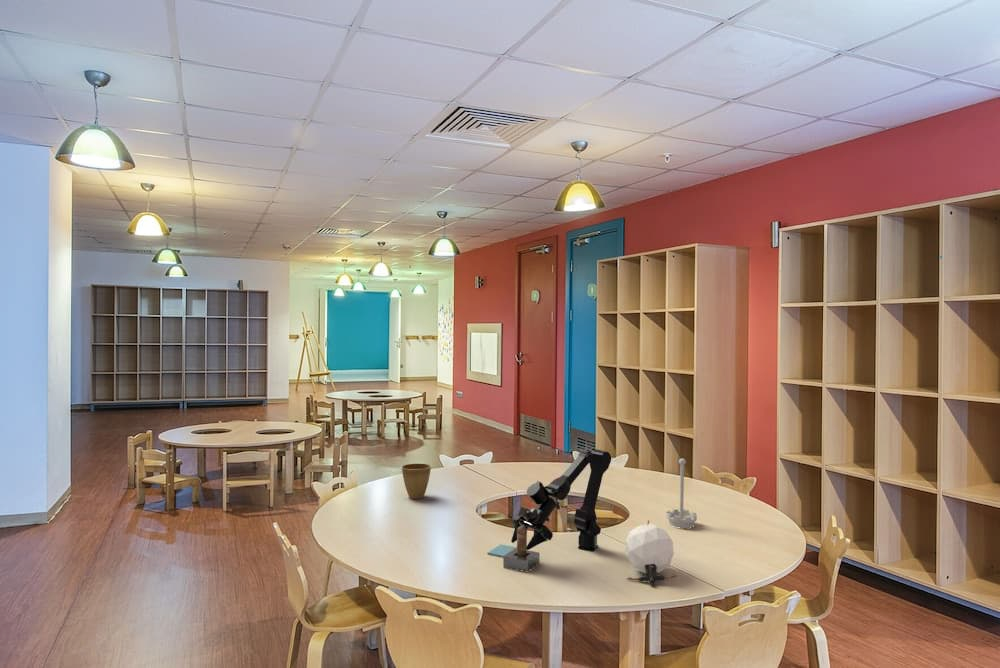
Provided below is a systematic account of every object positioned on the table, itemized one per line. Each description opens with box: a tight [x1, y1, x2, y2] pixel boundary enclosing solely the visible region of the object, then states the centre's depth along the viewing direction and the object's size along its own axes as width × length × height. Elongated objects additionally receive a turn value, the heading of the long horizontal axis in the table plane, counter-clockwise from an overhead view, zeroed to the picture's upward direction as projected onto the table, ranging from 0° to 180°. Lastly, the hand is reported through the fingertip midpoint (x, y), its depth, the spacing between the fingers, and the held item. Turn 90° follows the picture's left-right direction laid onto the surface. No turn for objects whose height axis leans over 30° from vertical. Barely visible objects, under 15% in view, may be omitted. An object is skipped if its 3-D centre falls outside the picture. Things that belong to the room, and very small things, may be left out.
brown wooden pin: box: [516, 526, 528, 558], centre depth 239 cm, size 4×4×14 cm
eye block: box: [502, 548, 541, 572], centre depth 239 cm, size 10×10×4 cm
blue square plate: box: [486, 543, 517, 558], centre depth 252 cm, size 11×11×1 cm
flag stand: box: [666, 458, 698, 529], centre depth 289 cm, size 13×13×30 cm
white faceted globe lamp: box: [625, 520, 678, 586], centre depth 230 cm, size 17×25×24 cm
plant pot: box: [401, 463, 432, 500], centre depth 330 cm, size 15×15×16 cm
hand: (519, 545), depth 239 cm, fingers open, 9 cm apart
